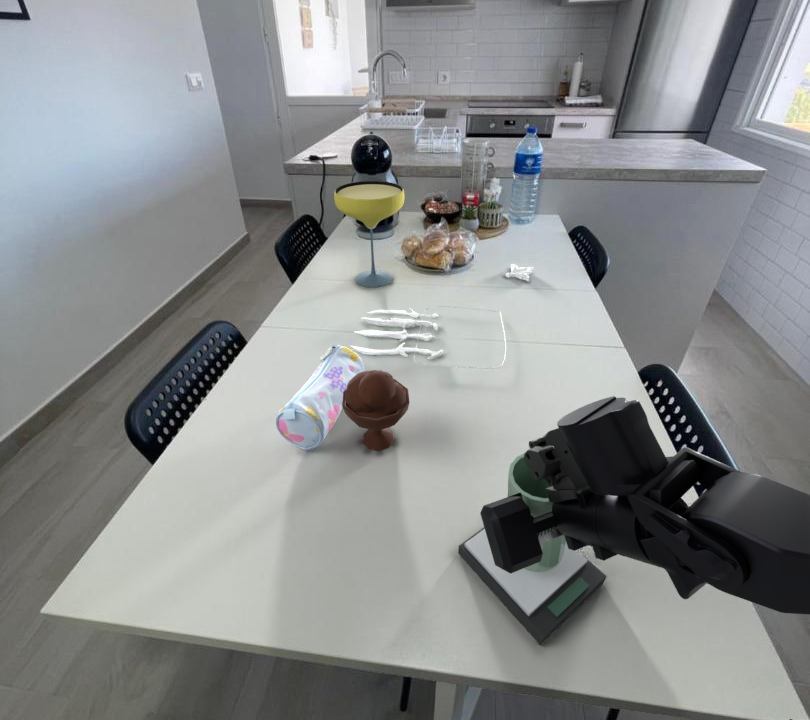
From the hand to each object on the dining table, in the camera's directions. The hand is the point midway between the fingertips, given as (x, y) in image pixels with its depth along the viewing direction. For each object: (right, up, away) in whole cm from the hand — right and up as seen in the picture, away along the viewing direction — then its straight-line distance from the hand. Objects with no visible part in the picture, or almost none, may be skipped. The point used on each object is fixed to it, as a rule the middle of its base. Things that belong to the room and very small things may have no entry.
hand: (530, 501), depth 53 cm
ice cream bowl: (-20, +3, +24) cm, 31 cm away
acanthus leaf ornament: (+19, +42, +78) cm, 90 cm away
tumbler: (+1, -7, +3) cm, 7 cm away
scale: (+1, -10, +5) cm, 11 cm away
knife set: (-9, +23, +51) cm, 57 cm away
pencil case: (-29, +7, +29) cm, 42 cm away
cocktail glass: (-24, +40, +76) cm, 89 cm away
